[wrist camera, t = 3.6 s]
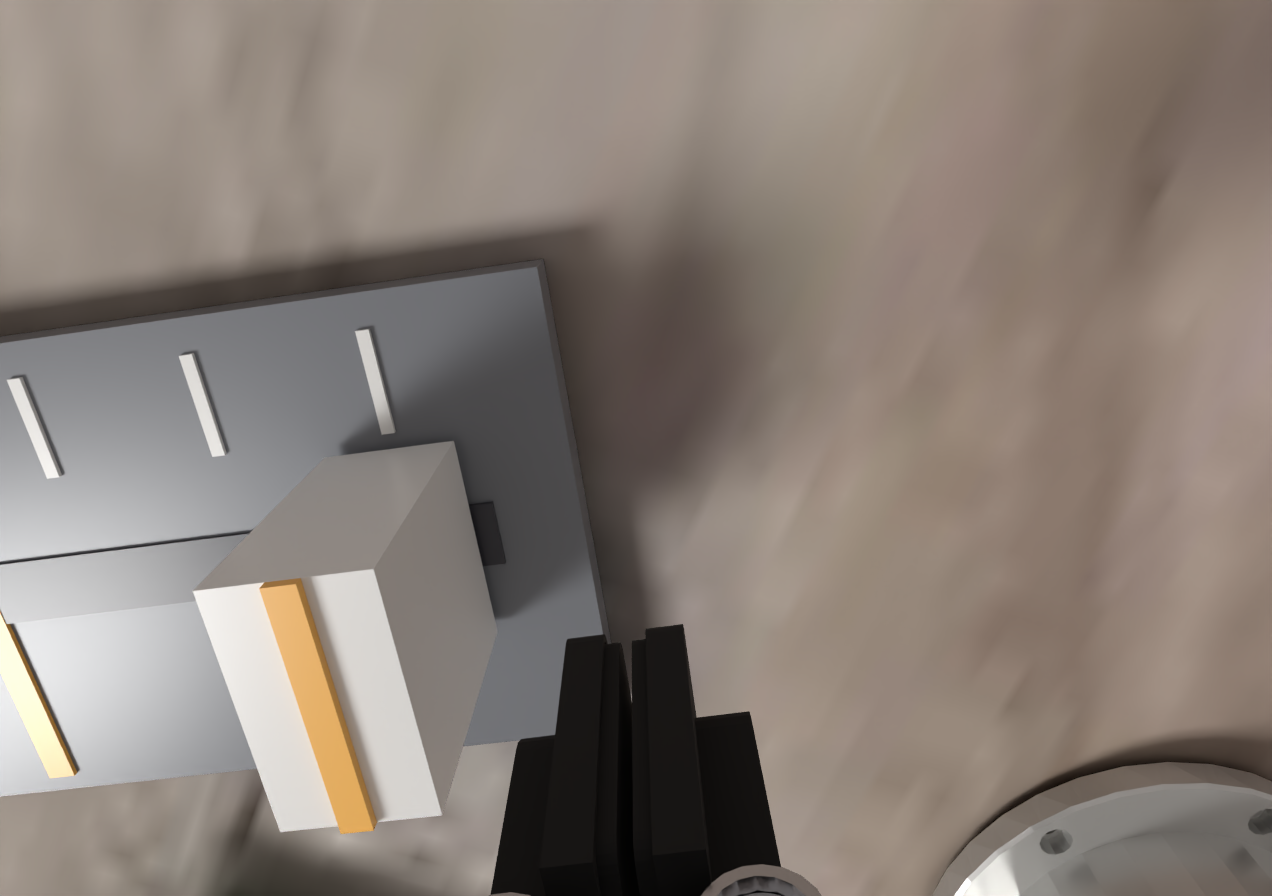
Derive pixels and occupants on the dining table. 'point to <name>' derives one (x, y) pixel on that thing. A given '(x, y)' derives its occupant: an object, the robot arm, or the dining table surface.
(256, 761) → the fader tab
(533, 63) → the dining table surface
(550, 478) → the console
